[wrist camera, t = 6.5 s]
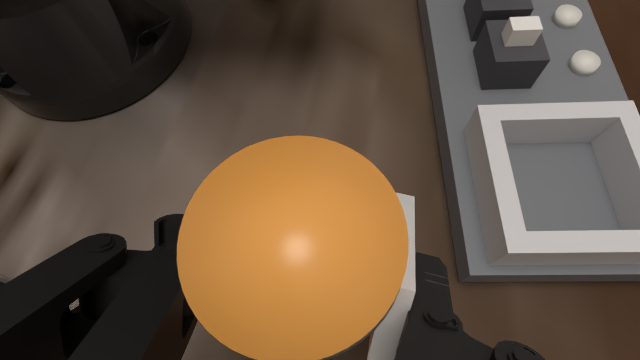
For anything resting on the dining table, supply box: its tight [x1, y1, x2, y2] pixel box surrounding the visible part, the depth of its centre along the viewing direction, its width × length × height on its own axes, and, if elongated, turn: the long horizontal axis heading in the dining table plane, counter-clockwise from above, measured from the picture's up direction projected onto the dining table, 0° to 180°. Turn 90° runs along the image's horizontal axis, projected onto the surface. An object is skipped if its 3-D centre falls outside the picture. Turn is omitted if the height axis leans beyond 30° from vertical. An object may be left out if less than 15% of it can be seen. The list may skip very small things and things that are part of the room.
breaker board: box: [417, 0, 640, 282], centre depth 23 cm, size 26×11×6 cm, turn 0°
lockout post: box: [177, 136, 409, 360], centre depth 13 cm, size 4×4×12 cm
